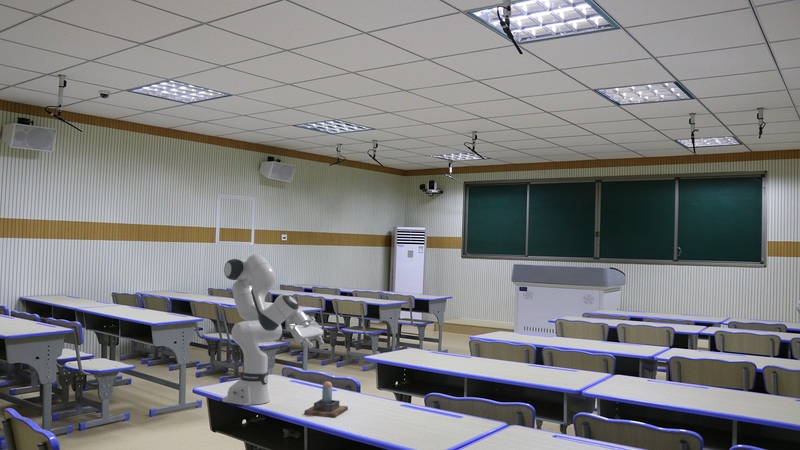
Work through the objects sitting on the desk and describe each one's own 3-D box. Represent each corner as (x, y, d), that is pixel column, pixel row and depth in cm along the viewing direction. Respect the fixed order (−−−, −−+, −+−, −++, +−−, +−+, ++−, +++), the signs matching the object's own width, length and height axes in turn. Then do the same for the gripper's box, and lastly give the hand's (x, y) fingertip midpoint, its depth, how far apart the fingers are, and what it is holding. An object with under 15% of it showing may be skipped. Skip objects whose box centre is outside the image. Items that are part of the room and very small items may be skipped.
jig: (304, 414, 277) (304, 403, 277) (318, 406, 292) (318, 396, 292) (335, 417, 273) (335, 407, 273) (347, 409, 287) (348, 399, 288)
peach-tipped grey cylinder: (320, 409, 281) (321, 382, 282) (324, 406, 285) (325, 380, 286) (329, 410, 280) (330, 382, 280) (333, 407, 284) (333, 381, 285)
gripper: (292, 320, 281) (309, 343, 277) (315, 316, 300) (332, 338, 295) (283, 329, 283) (300, 353, 278) (307, 325, 301) (323, 347, 297)
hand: (317, 345), depth 287 cm, fingers open, 8 cm apart
